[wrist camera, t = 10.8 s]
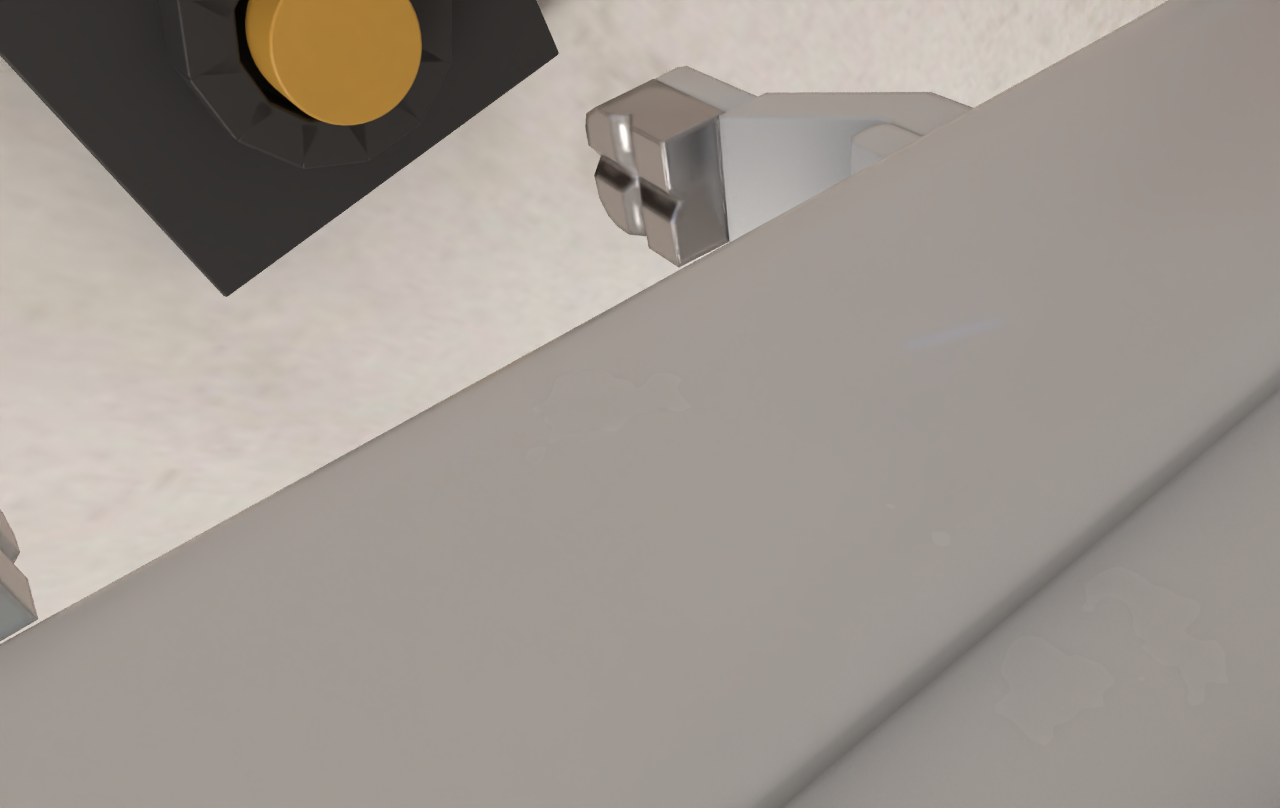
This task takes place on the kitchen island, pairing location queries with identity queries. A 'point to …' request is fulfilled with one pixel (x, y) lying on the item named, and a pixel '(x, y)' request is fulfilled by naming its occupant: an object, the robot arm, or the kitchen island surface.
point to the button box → (248, 113)
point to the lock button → (336, 54)
